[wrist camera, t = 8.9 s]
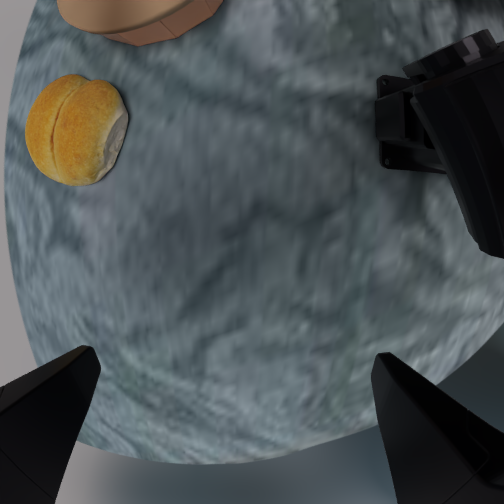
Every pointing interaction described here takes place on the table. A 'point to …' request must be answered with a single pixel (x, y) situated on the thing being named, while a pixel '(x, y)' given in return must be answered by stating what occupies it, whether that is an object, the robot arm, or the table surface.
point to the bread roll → (76, 129)
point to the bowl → (169, 24)
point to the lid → (117, 13)
